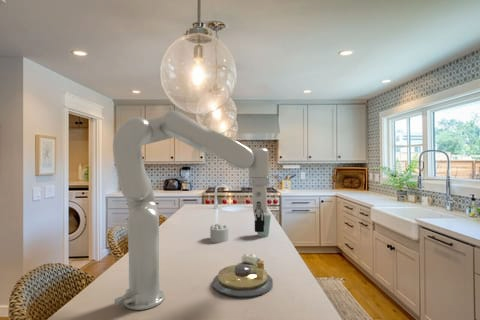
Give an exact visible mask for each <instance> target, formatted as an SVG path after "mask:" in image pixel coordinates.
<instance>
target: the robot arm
mask: <svg viewBox="0 0 480 320" xmlns="http://www.w3.org/2000/svg"><path fill="white" fill-rule="evenodd" d="M173 138H175V139H177V140H178V141H181V142H182V143H184V144H186V145H188V146H189V147H191V148H193V149H195V150H197V151H199V152H202V153H206V154H208V155H209V154H210V155H213V156H216V157H218V158H220V159H222V160H224V161H226V163H227V165H228V166H229V167H230V168H232V169H235V170H246V169H248V187H251V194H252V195H251V198H252V199H251V200H252V211H253V215H254V214H255V217H254V232H255V233H257V232H264V225H265V223H264V213H265V214H266V213H267V210H268V193H267V192H268V190H267V187H270V167H269V166H270V162H269V161H270V160H269V158H270V157H269V156H270V155H269V154H270V153H269V150H268V149H267V148H264V147H263V148H261V147H260V148H249V147H248V146H246V145H244V144H242V143H241V142H239V141H237V140H234V139H232V138H231V137H229V136H227V135H224V134H221V133H220V132H218V131H215V130H213V129H211V128H209V127H207V126H205V125H204V124H202V123H200V122H198V121H197V120H195V119H193V118H191V117H189V116H188V115H185V113H182V112H180V111H178V110H173V109H172V110H169V111H167V112H165V113H164V114H163V115H162V116H159V117H156V118H155V117H154V118H152V119H151V118H150V119H146V118H144V117H142V116H135V117H131V118H129V119H126V121H124V122H123V123H122V124H121V125H120V126H119V127H118V128H117V130H116V132H115V133H114V137H113V140H112V141H113V142H112V153H113V157H114V161H115V166H116V167H115V168H116V172H117V175H118V180H119V184H120V185H119V186H120V190H121V193H122V196H123V197H124V198H125V200H126V203H127V207H128V211H129V214H128V218H127V240H128V241H127V242H128V245H127V246H128V289H126V290H125V293H124V294H123V295H122V296H119V297H116V298H115V299H114V304H115V306H119V305H120V304H123V306H124V307H126V309H129V310H135V311H137V310H138V311H139V310H140V311H142V310H148V309H151V308H155V307H156V306H158V305H160V304H161V303H163V301H164V300H165V293H164V292H163V291H162V290H160V250H159V249H160V239H159V238H160V216H159V210H158V205H157V202H156V198H155V193H154V189H153V185H152V182H151V179H150V177H149V176H148V175H147V171H146V168H145V167H146V166H145V162H144V158H143V153H142V147H143V146H145V145H149V144H150V145H151V144H153V143H157V142H161V141H165V140H171V139H173Z"/></svg>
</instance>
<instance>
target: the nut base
mask: <svg viewBox="0 0 480 320" xmlns="http://www.w3.org/2000/svg"><path fill="white" fill-rule="evenodd" d="M273 283H274V282H273V278H272V276H270V275H269V274H268V273H267V283H266V284H265V285H264V286H262V287H260V288H257V289H254V290H246V291H239V290H231V289H227V288H225V287H223V286H221V285H220V284H219V281H218V274H217V275H216V276H214V278H213V280H212V287H213V290H214V291H215V292H217V293H218V294H220V295H222V296H225V297H229V298H234V299H249V298H256V297H261V296H263V295H265V294H268V293H269V292H270V291H271V290H272V289H273V287H274V286H273Z"/></svg>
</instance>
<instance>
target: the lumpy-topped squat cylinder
mask: <svg viewBox="0 0 480 320" xmlns="http://www.w3.org/2000/svg"><path fill="white" fill-rule="evenodd" d="M209 229H210V230H209V231H210V232H209V233H210V236H209V237H210V242H212V243H216V244H222V242H223V243H225V242H228V241H229V226H228V224H224V223H215V224H212V225H211V226H210V228H209Z"/></svg>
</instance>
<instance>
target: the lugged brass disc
mask: <svg viewBox="0 0 480 320" xmlns="http://www.w3.org/2000/svg"><path fill="white" fill-rule="evenodd" d="M267 274H268V272H267V270H266V269H265V261H264V260H260V261H257V266H255V265H252V264H233V265H229V266H225V267H224V268H221V269H220V270H219V271H218V273H217V275H218V281H219V284H220V285H221V286H223V287H225V288H227V289H231V290H239V291H246V290H254V289H257V288H260V287H262V286H264V285H265V284H266V283H267Z"/></svg>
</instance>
